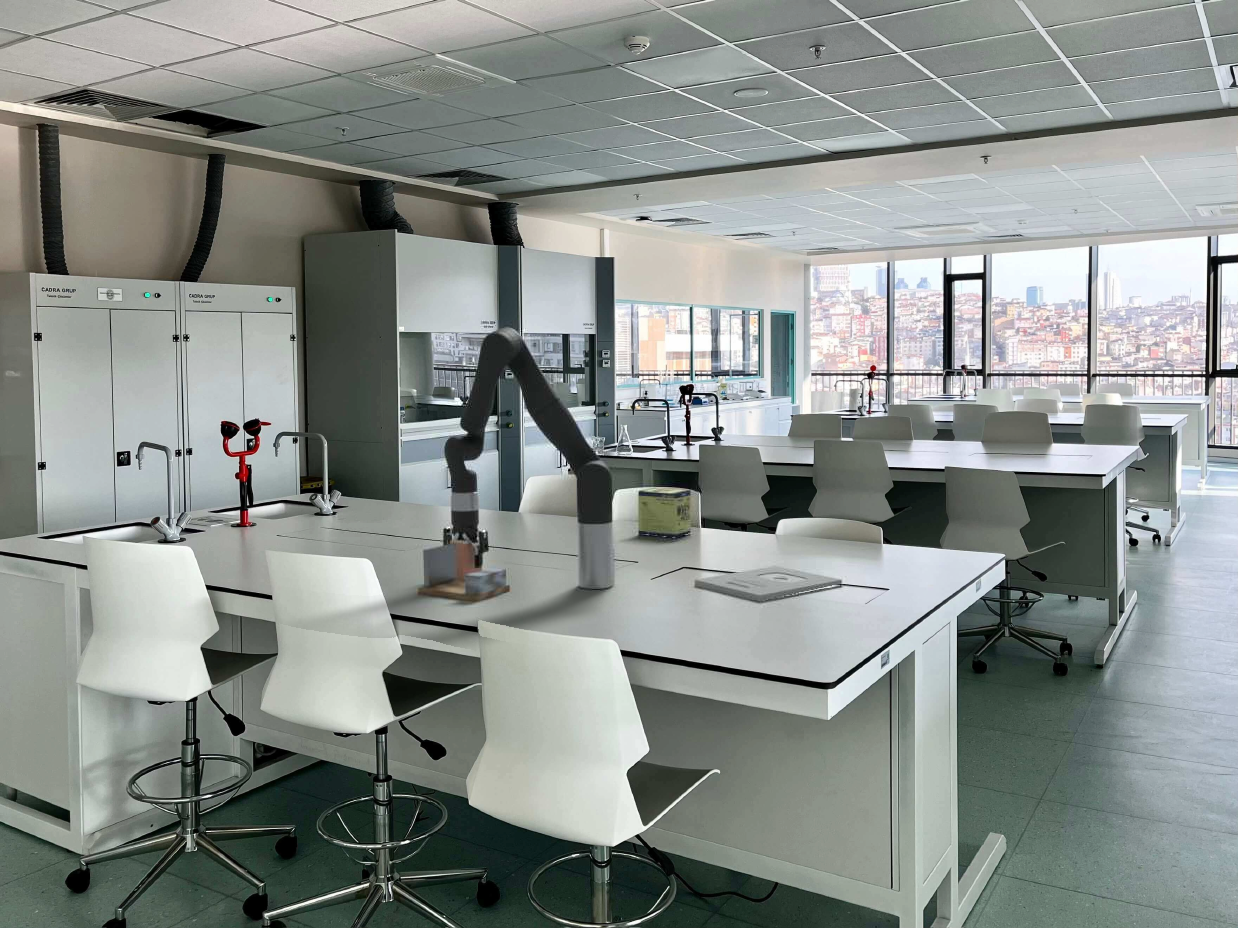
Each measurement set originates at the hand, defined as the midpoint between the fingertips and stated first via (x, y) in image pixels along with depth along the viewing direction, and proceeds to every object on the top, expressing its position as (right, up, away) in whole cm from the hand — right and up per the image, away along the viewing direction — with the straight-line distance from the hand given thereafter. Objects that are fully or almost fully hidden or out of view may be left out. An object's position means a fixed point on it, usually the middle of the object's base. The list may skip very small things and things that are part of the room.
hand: (466, 566), depth 287 cm
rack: (+2, -5, -16) cm, 17 cm away
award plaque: (+82, -5, -12) cm, 83 cm away
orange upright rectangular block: (0, -4, 0) cm, 4 cm away
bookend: (-5, -3, -12) cm, 13 cm away
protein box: (+58, +3, +74) cm, 94 cm away
